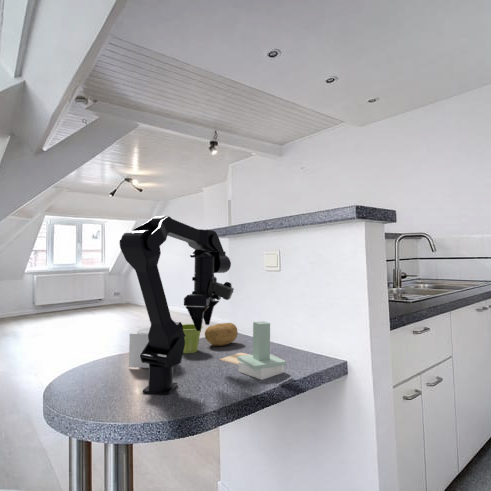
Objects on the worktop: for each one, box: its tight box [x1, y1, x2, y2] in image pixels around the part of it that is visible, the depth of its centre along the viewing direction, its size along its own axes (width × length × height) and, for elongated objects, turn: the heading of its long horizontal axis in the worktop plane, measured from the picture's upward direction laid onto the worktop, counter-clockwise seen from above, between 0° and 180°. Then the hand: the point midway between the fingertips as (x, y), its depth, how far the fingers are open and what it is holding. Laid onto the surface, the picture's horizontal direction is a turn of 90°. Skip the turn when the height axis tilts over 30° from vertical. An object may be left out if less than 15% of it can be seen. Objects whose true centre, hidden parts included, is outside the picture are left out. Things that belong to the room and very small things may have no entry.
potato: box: [204, 322, 238, 347], centre depth 124 cm, size 10×14×8 cm
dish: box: [238, 362, 285, 381], centre depth 93 cm, size 9×9×3 cm
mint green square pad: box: [218, 352, 251, 366], centre depth 105 cm, size 11×11×1 cm
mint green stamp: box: [237, 320, 287, 370], centre depth 94 cm, size 10×10×11 cm
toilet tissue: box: [128, 327, 166, 369], centre depth 101 cm, size 11×12×10 cm
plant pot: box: [182, 323, 203, 354], centre depth 115 cm, size 9×9×9 cm
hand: (203, 327), depth 96 cm, fingers open, 9 cm apart
